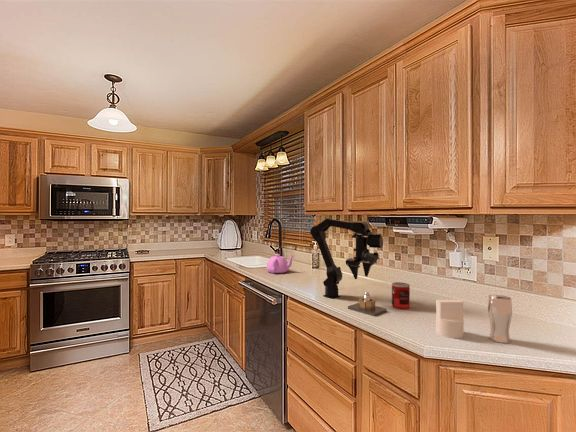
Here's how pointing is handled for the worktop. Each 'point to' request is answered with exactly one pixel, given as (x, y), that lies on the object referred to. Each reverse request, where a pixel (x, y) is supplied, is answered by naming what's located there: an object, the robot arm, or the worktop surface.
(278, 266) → the teapot
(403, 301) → the canned food
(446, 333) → the base with upright slab
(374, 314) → the shaft stand
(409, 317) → the worktop surface
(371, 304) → the ring
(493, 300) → the beer glass
